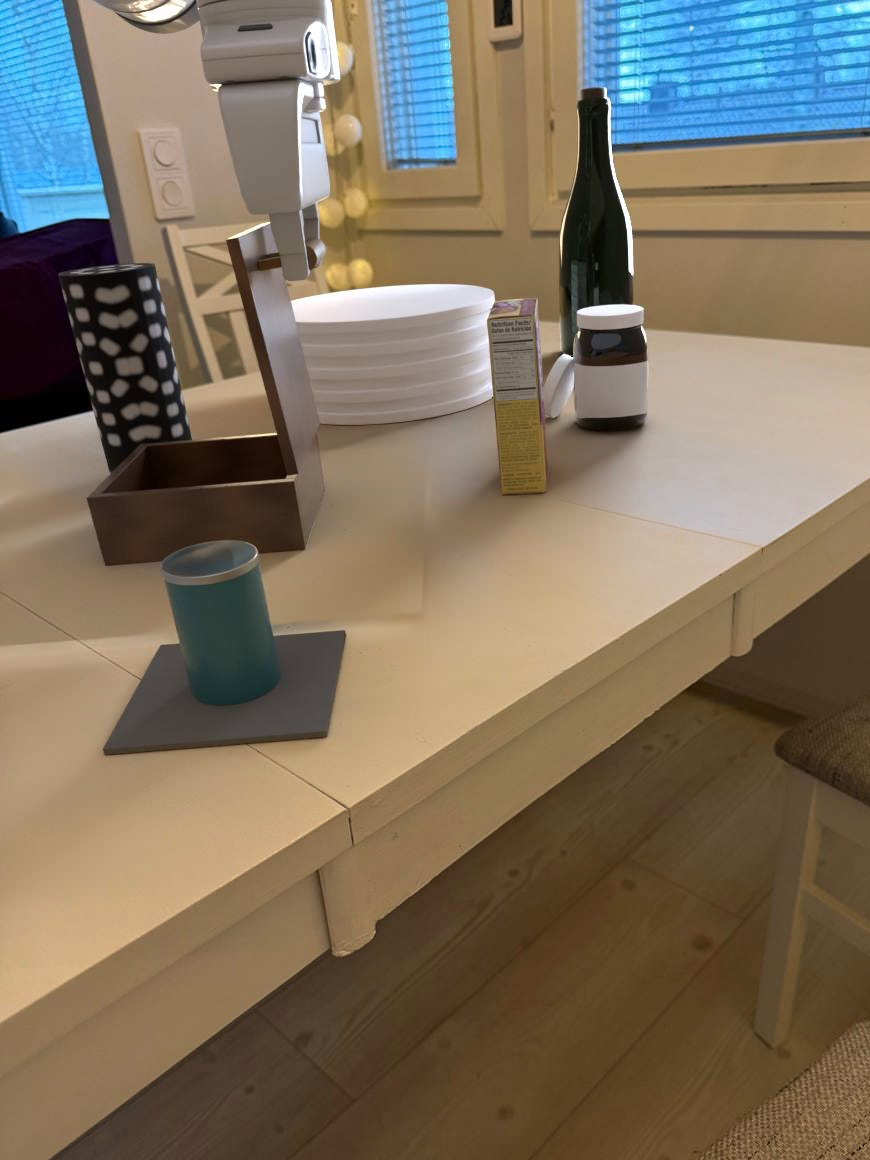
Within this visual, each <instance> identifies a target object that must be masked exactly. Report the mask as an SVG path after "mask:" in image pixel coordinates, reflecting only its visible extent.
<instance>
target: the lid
mask: <svg viewBox="0 0 870 1160" xmlns="http://www.w3.org/2000/svg"><path fill="white" fill-rule="evenodd" d="M225 242H226V246H227V250H228V254H229V257H230V261H231V265H232V269H233V273H234V277H235V280H236V284H237V288H238V292H239V296H240V299H241V303H242V307H243V311H244V315H245V318H246V322H247V326H248V329H249V333H250V338H251V341H252V346H253V349H254V353H255V356H256V361H257V364H258V369H259V373H260V376H261V379H262V383H263V387H264V391H265V395H266V398H267V403H268V406H269V409H270V410H269V411H270V414H271V418H272V422H273V425H274V429H275V433H277V437H278V441H279V444H280V448H281V452H282V456H283V460H284V464H285V467H286V471H287V475H288V476H290V475H296V474H299V472H300V469H301V467H302V465H303V462H304V460H305V458H306V455H307V453H308V451H309V448H310V446H311V443H312V441H313V439H314V436H315V434H316V432H317V431H318V429H319V427H320V425H321V424H320V421H319V417H318V412H317V408H316V404H315V400H314V396H313V392H312V387H311V383H310V379H309V375H308V371H307V366H306V362H305V358H304V354H303V350H302V346H301V341H300V337H299V333H298V329H297V325H296V321H295V316H294V312H293V308H292V304H291V301H292V300H291V295H290V291H289V288H288V283H287V280H286V279H285V278H284V276H283V272H282V265H281V259H280V255H279V252H278V249H277V246H276V243H275V240H274V237H273V234H272V231H271V225H270V221H269V222H264V223H263V222H262V223H260V224H259V225H256V226H254V227H252V228H249V229H246V230H245V231H243V232H240V233H237V234H235V235H233V236H230V237H229V238H226V239H225ZM305 244H306V251H308V258H309V265H310V272H311V271H313V270H314V269H316V268H315V267H316V266H317V265H318V264H319V263H320V262H321V261H323V260H324V259H325V258H326V254H327V248H326V245H325V244H324V242H323V241H322V240H320V238H319V239H317V238H309V239H307V240H306V241H305ZM321 263H322V262H321ZM317 433H318V432H317Z"/></svg>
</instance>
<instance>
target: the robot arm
mask: <svg viewBox="0 0 870 1160" xmlns="http://www.w3.org/2000/svg"><path fill="white" fill-rule="evenodd" d="M92 2H95V3H97V4H98V5H100V6H102V7H104V8H106V9H108V10H110V11H111V12H113V13H114V14H116V15H117V16H118V17H119V18H120V19H122V20H123V21H125V22H126V23H128V24H129V25H131V26H133V27H135V28H137V29H140V30H142V31H144V32H148V33H152V34H159V35H161V34H162V35H165V34H166V35H167V34H174V33H179V32H181V31H184V30H187V29H189V28H191V27H192V26H194V25H195V24H197V23H198V22H199V24H200V30H201V35H202V41H201V44H200V47H199V48H200V51H199V52H200V59H201V66H202V70H203V75H204V78H205V81H206V82H207V84H208V85H210V88H211V90H212V91H215V92H217V99H218V106H219V111H220V115H221V119H222V120H221V121H222V124H223V130H224V133H225V137H226V142H227V145H228V146H227V147H228V150H229V154H230V155H229V156H230V158H231V162H232V166H233V171H234V174H235V179H236V183H237V186H238V190H239V193H240V195H241V198H242V201H243V203H244V205H245V207H246V210H247V211H248V213H249V214H251V215H254V216H255V215H268V218H269V222H270V225H271V231H272V234H273V237H274V240H275V243H276V246H277V249H278V252H279V255H280V259H281V265H282V272H283V276H284V278H285V279H286V281H288V282H297V281H298V282H299V281H305V280H307V278H309V277H310V274H311V271H310V265H309V258H308V251H306V244H305V241H306V240H307V239H309V238H317V239H319V240H320V211H319V205H318V204H319V202H321V201H324V200H325V199H328V198H330V195H331V180H330V171H329V165H328V158H327V157H328V156H327V151H326V143H325V137H324V131H323V130H324V129H323V123H322V118H321V114H320V113H322V112H325V111H326V110H327V106H326V100H325V90H324V86H329V85H334V84H337V83H340V81H341V71H340V70H341V69H340V63H339V55H338V45H337V38H336V31H335V22H334V13H333V5H332V0H92ZM322 261H323V260H322ZM322 261H321V262H320V263H319V264H318V265H317V266H316V267H315V268H314V269H317V268H318V267H320V266H321V264H322Z"/></svg>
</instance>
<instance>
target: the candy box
mask: <svg viewBox="0 0 870 1160" xmlns="http://www.w3.org/2000/svg"><path fill="white" fill-rule="evenodd" d="M538 303H539V302H538V297H528V298H527V297H526V298H525V297H524V298H514V299H513V298H511V299H503V300H495V302H494V304H493V306H492V308H491V309H490V310H491V311H490V314H489V316H488V319H487V328H488V339H489V350H490V362H491V375H492V387H493V398H492V399H493V410H494V411H493V413H494V420H495V421H494V422H495V433H496V444H497V456H498V468H499V479H500V480H499V481H500V490H501V491H500V492H501V493H500V494H501V495H505V496H506V495H507V496H508V495H509V496H510V495H528V494H529V495H530V494H532V495H533V494H544V493H546V492H547V491H546V489H547V479H548V477H547V476H548V469H549V468H548V467H549V454H548V442H547V427H546V415H545V407H544V392H543V389H544V381H543V379H544V378H543V364H542V350H541V349H542V347H541V336H540V335H541V334H540V333H541V332H540V320H539V319H540V318H539V304H538Z"/></svg>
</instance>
